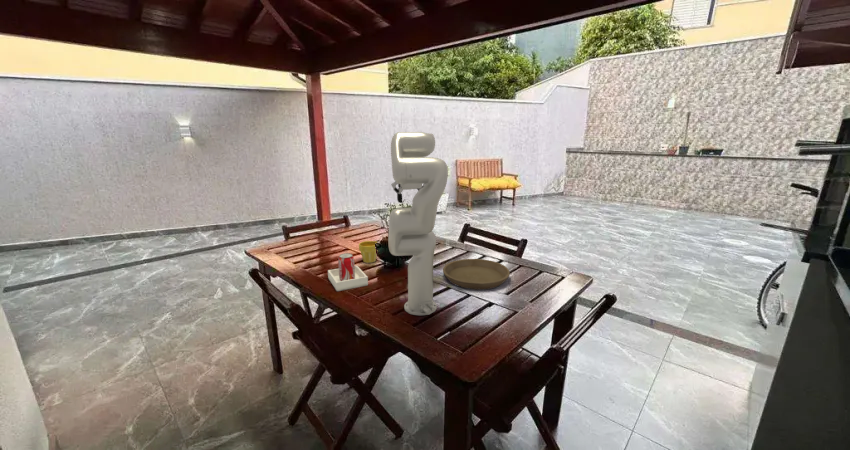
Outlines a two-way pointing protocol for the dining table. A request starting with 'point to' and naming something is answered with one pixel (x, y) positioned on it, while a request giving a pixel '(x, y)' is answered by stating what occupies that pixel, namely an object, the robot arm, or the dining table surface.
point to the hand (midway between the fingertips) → (409, 201)
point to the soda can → (346, 267)
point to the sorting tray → (347, 284)
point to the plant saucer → (476, 273)
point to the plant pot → (368, 251)
